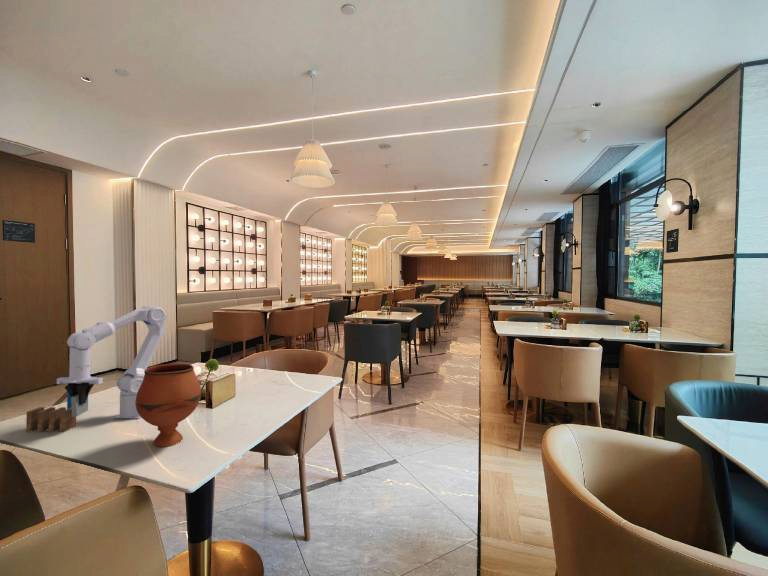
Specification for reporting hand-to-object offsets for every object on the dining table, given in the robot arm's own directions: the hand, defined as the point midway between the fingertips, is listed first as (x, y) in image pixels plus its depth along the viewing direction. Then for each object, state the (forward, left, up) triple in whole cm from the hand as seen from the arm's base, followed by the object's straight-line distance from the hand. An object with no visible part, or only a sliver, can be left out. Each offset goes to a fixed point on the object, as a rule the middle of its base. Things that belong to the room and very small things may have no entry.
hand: (79, 403), depth 129 cm
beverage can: (+14, -17, -9) cm, 24 cm away
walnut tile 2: (+4, 0, -9) cm, 10 cm away
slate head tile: (0, 0, -4) cm, 4 cm away
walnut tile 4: (+11, 0, -9) cm, 15 cm away
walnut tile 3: (+8, 0, -9) cm, 12 cm away
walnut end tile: (+15, 0, -9) cm, 18 cm away
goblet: (-37, +10, -9) cm, 39 cm away
